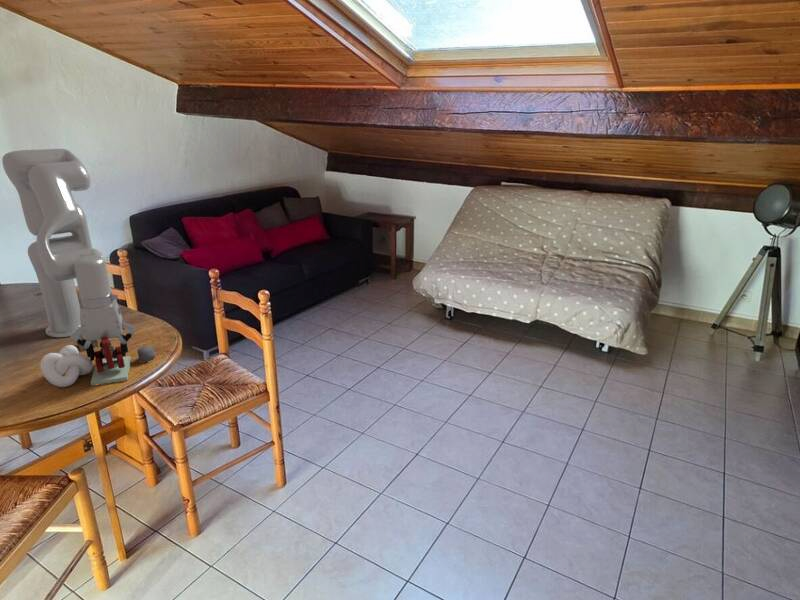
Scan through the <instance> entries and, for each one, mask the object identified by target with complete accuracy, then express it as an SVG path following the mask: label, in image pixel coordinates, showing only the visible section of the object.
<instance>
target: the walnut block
mask: <svg viewBox="0 0 800 600" xmlns="http://www.w3.org/2000/svg"><path fill="white" fill-rule="evenodd" d="M78 336H79V337H80V338H83V336H82V333H81V334H79V335H78ZM83 339H84V338H83ZM84 340H85V339H84ZM76 344H77V347H78V349H79V351H80V352H84V351H86V349H85V348H84V347H83V346H81V345H79V344H78V343H77V342H76ZM91 344H92V345H93V348H94V349H95V347H97V348H99V342H98V340H92V341H91ZM83 350H84V351H83Z"/></svg>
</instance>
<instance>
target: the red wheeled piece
mask: <svg viewBox="0 0 800 600" xmlns="http://www.w3.org/2000/svg"><path fill="white" fill-rule="evenodd" d="M99 347H100V349H99V350H96V351H95V350H94V352H95V358H94V361H95V366H96V367H97V371H98V373H100V372H103V371H104V369H103V366H108V369H111V368H114V364H117V363H118V367H119V368H123V367H125V365H124V360H123V356H122V352H121V347H120V346H115V347H114V346H112V341H110V339H107V337H101V339H100V342H99ZM112 358H113V359H115V358H117V360H114V361H113V359H112ZM104 359H106V361H107V363H103V361H102V360H104Z"/></svg>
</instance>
